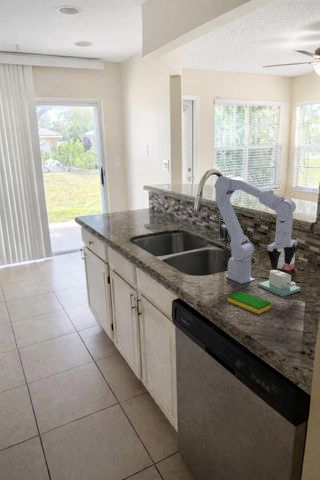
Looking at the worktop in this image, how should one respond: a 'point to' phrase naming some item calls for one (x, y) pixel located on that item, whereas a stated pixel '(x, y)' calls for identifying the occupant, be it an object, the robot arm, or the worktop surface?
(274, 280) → the white rounded piece
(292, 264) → the ink cartridge box
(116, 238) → the worktop surface
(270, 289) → the teal mat
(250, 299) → the dish sponge
